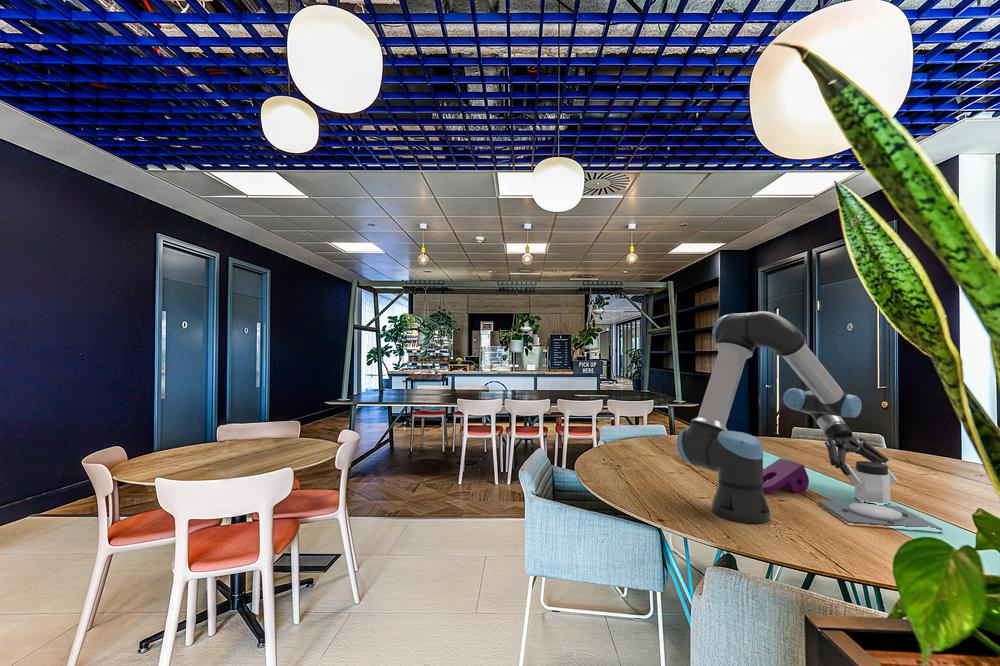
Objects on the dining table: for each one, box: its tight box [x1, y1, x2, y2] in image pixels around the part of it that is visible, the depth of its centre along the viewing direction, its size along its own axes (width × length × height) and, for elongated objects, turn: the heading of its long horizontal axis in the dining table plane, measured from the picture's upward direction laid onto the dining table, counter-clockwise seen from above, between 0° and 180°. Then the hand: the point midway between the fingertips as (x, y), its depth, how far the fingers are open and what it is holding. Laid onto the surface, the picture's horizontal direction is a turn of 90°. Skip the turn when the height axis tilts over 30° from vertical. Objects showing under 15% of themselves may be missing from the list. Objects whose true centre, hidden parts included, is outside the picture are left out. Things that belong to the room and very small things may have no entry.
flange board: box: [817, 500, 943, 531], centre depth 133 cm, size 22×18×2 cm
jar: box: [853, 460, 891, 503], centre depth 148 cm, size 9×8×12 cm
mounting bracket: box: [763, 458, 810, 494], centre depth 160 cm, size 10×8×18 cm
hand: (875, 483), depth 147 cm, fingers open, 13 cm apart
